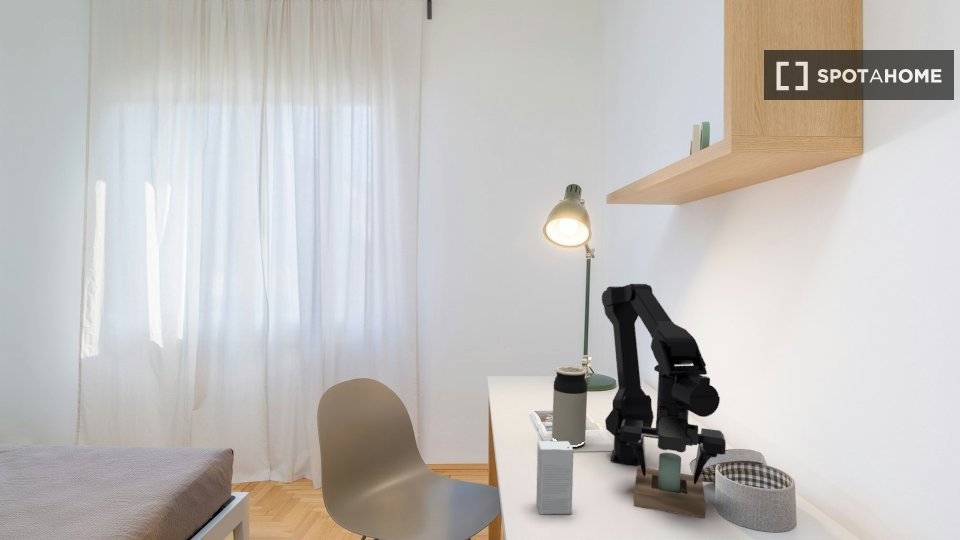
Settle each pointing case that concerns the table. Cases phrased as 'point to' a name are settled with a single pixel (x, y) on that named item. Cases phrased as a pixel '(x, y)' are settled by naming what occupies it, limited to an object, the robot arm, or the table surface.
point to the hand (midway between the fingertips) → (669, 479)
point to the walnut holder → (670, 494)
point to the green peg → (669, 472)
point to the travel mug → (569, 405)
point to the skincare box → (554, 477)
